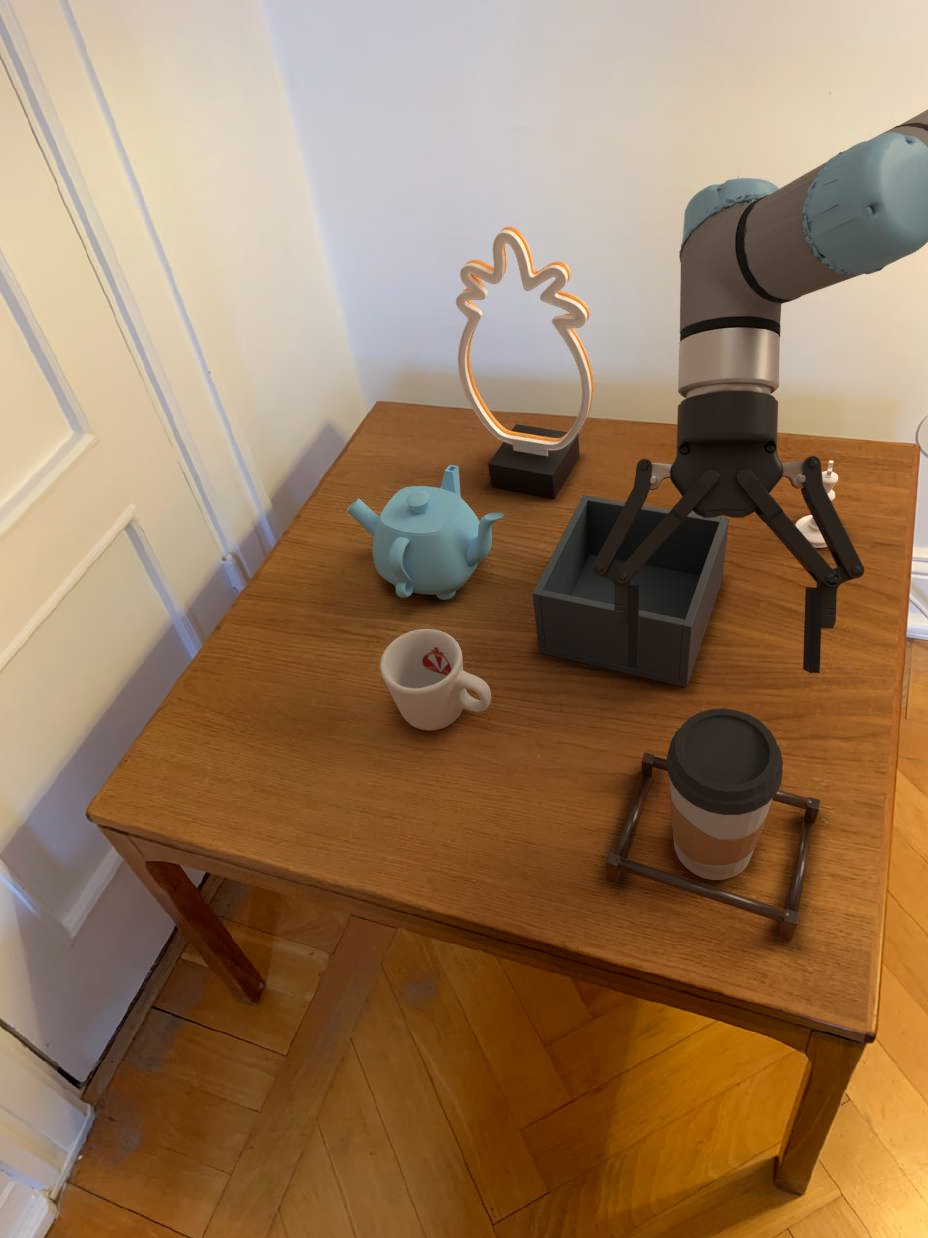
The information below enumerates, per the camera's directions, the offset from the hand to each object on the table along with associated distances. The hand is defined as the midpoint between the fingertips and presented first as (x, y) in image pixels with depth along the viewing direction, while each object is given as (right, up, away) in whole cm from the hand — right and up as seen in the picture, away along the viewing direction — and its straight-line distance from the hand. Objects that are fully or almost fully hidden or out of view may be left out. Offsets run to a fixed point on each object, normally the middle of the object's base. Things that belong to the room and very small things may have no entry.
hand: (720, 668), depth 68 cm
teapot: (-23, +10, +34) cm, 42 cm away
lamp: (-11, +23, +44) cm, 51 cm away
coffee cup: (+1, -16, +5) cm, 17 cm away
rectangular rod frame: (+1, -16, +5) cm, 16 cm away
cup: (-22, -6, +19) cm, 30 cm away
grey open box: (-2, +4, +24) cm, 25 cm away
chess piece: (+20, +13, +29) cm, 38 cm away
